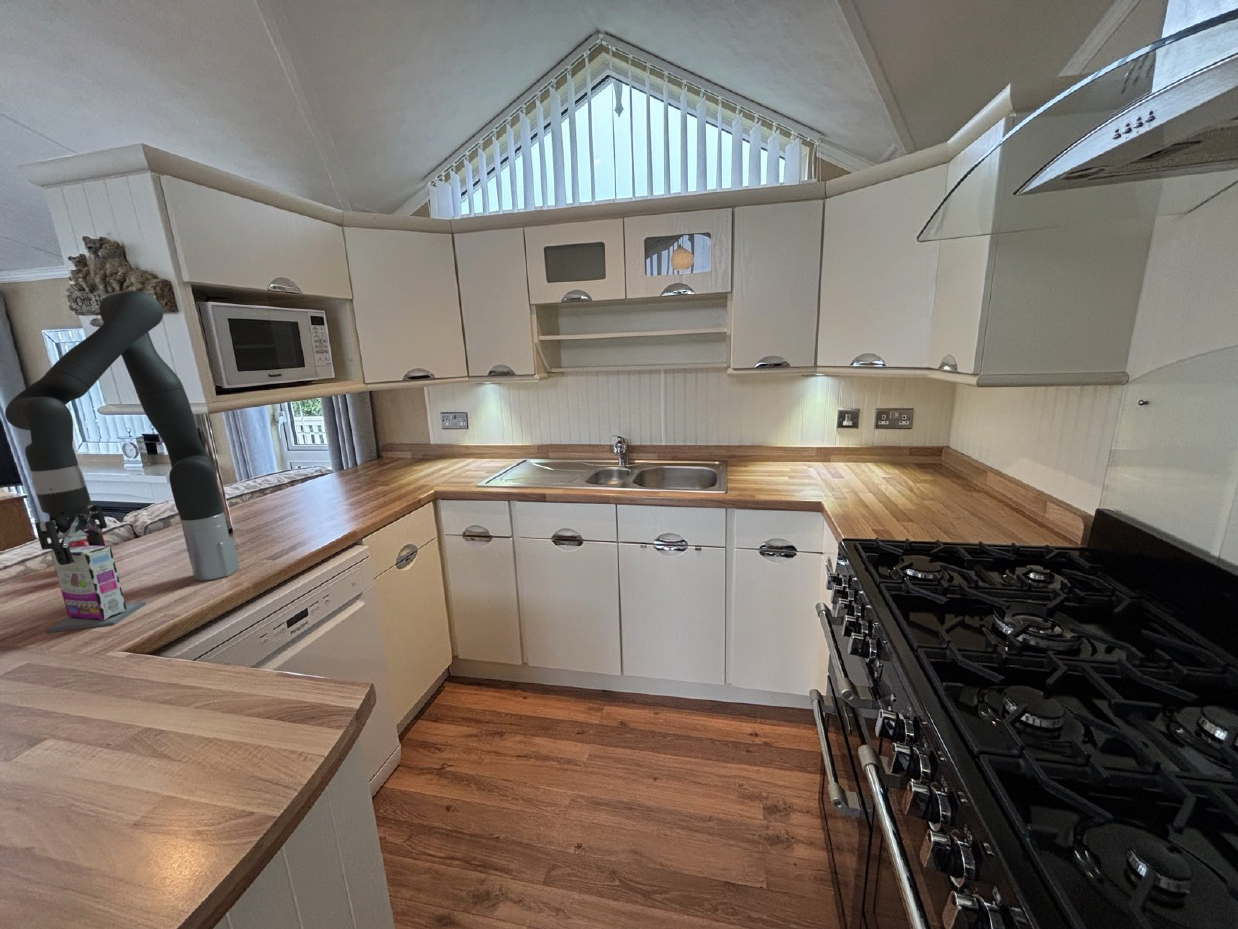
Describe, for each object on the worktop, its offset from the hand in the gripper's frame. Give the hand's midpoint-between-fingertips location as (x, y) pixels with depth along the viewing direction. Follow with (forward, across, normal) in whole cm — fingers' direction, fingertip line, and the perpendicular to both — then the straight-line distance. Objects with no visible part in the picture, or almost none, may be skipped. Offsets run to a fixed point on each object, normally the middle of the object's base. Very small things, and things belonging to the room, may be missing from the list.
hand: (82, 556), depth 113 cm
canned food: (+15, +40, +29) cm, 51 cm away
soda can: (+15, +29, +23) cm, 40 cm away
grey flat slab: (+15, 0, +1) cm, 15 cm away
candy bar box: (+15, 0, +1) cm, 15 cm away
